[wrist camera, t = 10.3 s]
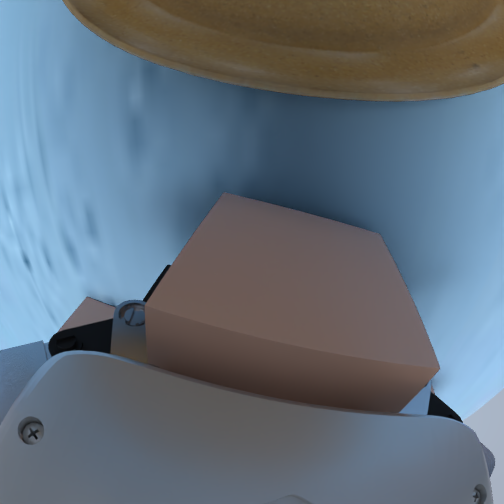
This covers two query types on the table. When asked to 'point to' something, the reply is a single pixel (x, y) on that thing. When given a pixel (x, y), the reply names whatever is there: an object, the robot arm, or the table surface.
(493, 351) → the table surface
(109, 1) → the plant saucer
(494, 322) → the table surface
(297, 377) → the toy block
